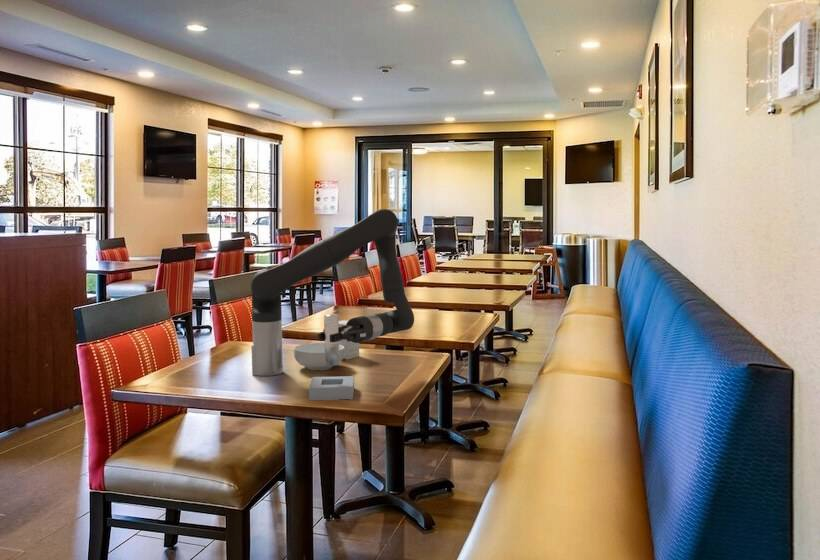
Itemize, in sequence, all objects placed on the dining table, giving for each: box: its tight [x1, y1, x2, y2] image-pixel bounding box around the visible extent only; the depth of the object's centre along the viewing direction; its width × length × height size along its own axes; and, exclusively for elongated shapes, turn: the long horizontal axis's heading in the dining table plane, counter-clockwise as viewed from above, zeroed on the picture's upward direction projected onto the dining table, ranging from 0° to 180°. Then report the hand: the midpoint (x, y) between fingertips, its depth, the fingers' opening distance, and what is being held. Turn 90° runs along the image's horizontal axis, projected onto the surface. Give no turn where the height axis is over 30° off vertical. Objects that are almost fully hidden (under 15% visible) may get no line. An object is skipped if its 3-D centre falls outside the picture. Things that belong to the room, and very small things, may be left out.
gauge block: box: [308, 375, 355, 401], centre depth 185 cm, size 12×12×4 cm
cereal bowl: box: [293, 342, 345, 371], centre depth 216 cm, size 17×17×7 cm
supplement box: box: [338, 319, 360, 360], centre depth 232 cm, size 7×7×13 cm
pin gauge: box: [323, 313, 340, 367], centre depth 184 cm, size 4×4×14 cm
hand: (325, 337), depth 181 cm, fingers closed on pin gauge, 4 cm apart
